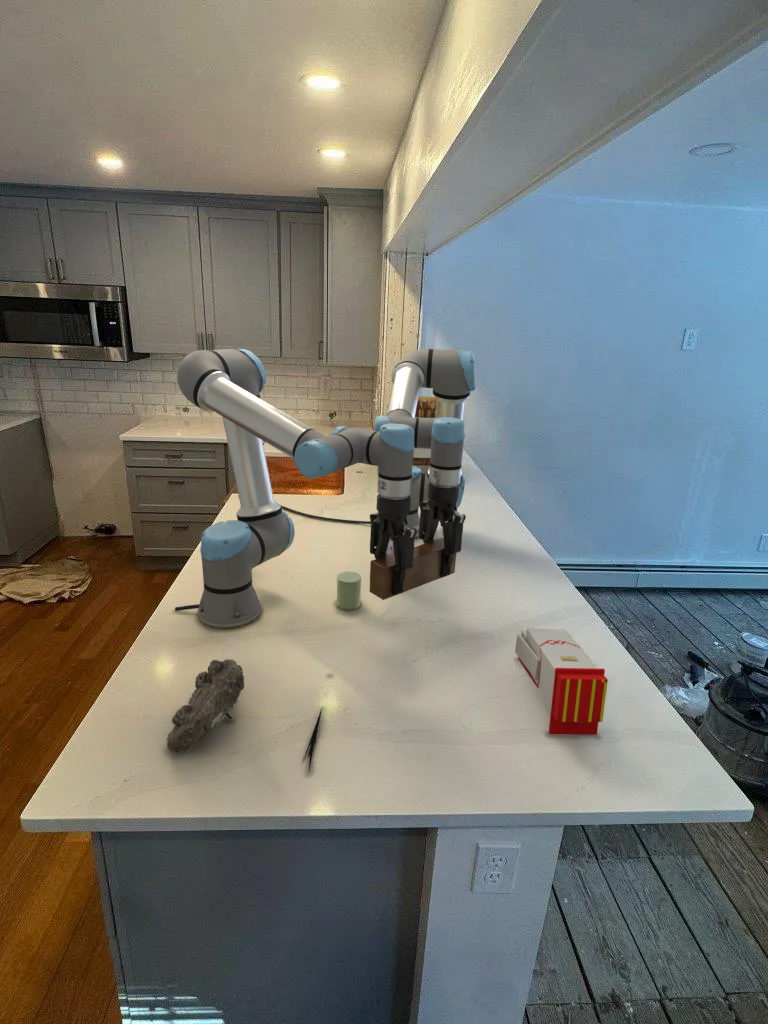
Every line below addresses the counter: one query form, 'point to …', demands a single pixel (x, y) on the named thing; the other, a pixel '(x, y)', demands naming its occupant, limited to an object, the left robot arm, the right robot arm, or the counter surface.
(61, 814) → the counter surface
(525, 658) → the toy
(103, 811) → the counter surface
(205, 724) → the fossil
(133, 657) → the counter surface
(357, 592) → the pale green cylinder
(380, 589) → the walnut box
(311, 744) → the feather
